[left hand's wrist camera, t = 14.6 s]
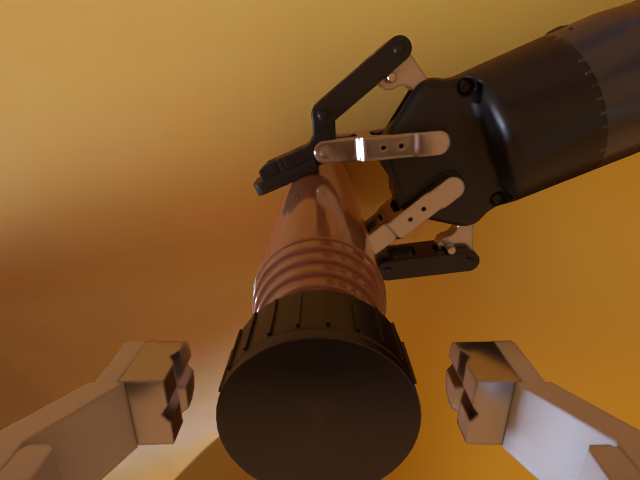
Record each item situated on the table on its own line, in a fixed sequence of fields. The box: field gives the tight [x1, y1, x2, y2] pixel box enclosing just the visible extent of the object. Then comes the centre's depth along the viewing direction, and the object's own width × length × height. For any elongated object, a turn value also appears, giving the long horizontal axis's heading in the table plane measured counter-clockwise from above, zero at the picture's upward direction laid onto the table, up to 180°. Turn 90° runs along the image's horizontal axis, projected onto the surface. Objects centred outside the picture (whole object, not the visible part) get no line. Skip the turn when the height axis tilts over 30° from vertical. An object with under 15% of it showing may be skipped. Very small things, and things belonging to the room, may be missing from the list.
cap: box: [216, 290, 421, 480], centre depth 9 cm, size 4×4×2 cm
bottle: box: [252, 162, 386, 316], centre depth 19 cm, size 4×4×22 cm
